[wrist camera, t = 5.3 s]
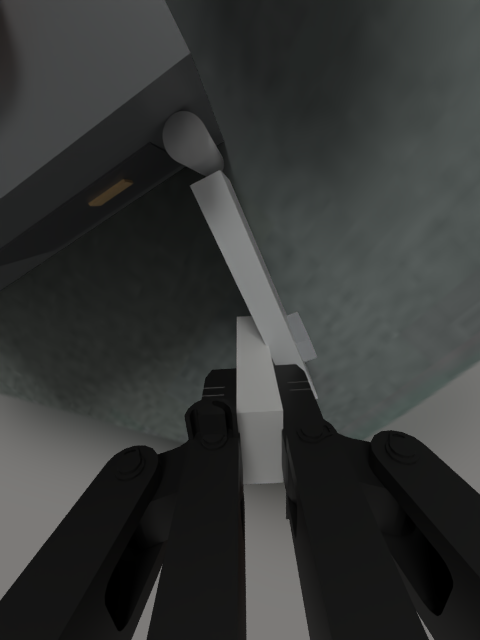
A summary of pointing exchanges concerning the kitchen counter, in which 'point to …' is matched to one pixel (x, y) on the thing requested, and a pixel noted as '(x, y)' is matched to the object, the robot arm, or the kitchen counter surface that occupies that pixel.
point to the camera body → (91, 118)
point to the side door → (252, 273)
